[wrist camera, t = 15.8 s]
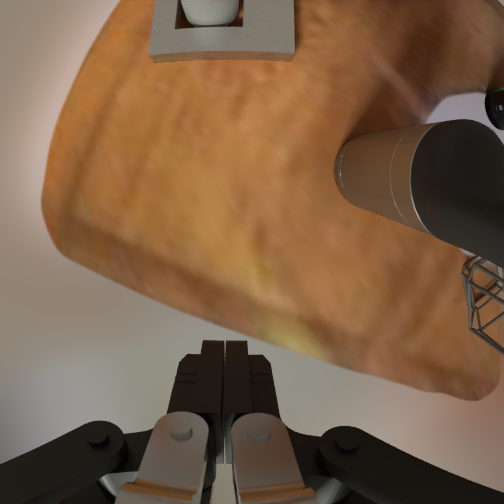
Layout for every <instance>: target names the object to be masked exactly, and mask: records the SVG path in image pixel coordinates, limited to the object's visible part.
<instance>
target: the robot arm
mask: <svg viewBox="0 0 504 504" xmlns="http://www.w3.org/2000/svg"><path fill="white" fill-rule="evenodd" d="M334 173H335V180H336V184H337V186H338V188H339V190H340V192H341V194H342V195H343V196H344V198H345V199H346V200H348V201H349V202H350V203H351V204H353V205H355V206H357V207H359V208H362V209H365V210H367V211H370V212H372V213H375V214H378V215H380V216H383V217H386V218H388V219H391V220H393V221H396V222H398V223H401V224H403V225H406V226H408V227H411V228H413V229H416V230H418V231H421V232H424V233H426V234H428V235H431V236H433V237H435V238H438V239H440V240H442V241H445V242H447V243H449V244H452V245H454V246H457V247H459V248H462V249H464V250H467V251H469V252H471V253H473V254H476V255H478V256H480V257H482V258H484V259H486V260H488V261H490V262H492V263H494V264H495V265H497V266H499V267H501V268H502V269H504V145H503V143H502V142H501V140H500V139H499V137H498V136H497V135H496V134H495V133H494V132H493V131H492V130H491V129H490V128H488V127H487V126H485V125H484V124H482V123H480V122H477V121H474V120H468V119H458V120H450V121H444V122H437V123H430V124H424V125H418V126H411V127H405V128H399V129H393V130H387V131H382V132H377V133H371V134H366V135H361V136H357V137H354V138H352V139H351V140H349V141H348V142H346V143H345V144H344V146H343V147H342V148H341V149H340V151H339V153H338V155H337V158H336V161H335V167H334ZM224 436H225V453H226V463H227V464H232V473H233V489H234V497H235V504H504V493H503V492H500V491H497V490H494V489H492V488H489V487H486V486H483V485H481V484H478V483H475V482H473V481H470V480H467V479H465V478H462V477H460V476H457V475H455V474H453V473H450V472H448V471H446V470H443V469H441V468H438V467H436V466H434V465H432V464H430V463H427V462H425V461H423V460H421V459H418V458H417V457H414V456H412V455H410V454H408V453H406V452H404V451H402V450H400V449H398V448H396V447H394V446H391V445H390V444H388V443H386V442H384V441H382V440H380V439H378V438H376V437H374V436H372V435H370V434H368V433H367V432H365V431H363V430H361V429H359V428H356V427H351V426H339V427H334V428H332V429H329V430H328V431H326V432H325V433H324V434H323V435H322V437H319V436H312V435H305V434H301V433H298V432H295V431H293V430H291V429H289V428H288V427H287V426H286V425H285V424H284V423H283V422H282V420H281V418H280V414H279V408H278V403H277V397H276V392H275V386H274V381H273V376H272V369H271V364H270V362H269V361H268V360H267V359H266V358H265V357H264V356H263V355H248V346H247V341H226V351H225V348H224V341H216V340H203V342H202V349H201V354H187V355H186V356H185V357H184V358H183V359H182V360H181V361H180V362H179V365H178V369H177V375H176V377H175V383H174V386H173V389H172V393H171V398H170V402H169V406H168V410H167V414H166V415H165V416H163V417H161V418H160V419H159V420H158V421H157V423H156V424H155V427H154V428H153V429H150V430H147V431H143V432H137V433H128V434H123V432H122V430H121V429H120V428H119V427H118V426H116V425H115V424H113V423H111V422H107V421H93V422H89V423H86V424H84V425H82V426H80V427H78V428H76V429H74V430H72V431H70V432H68V433H66V434H64V435H63V436H60V437H58V438H56V439H54V440H52V441H50V442H48V443H46V444H44V445H42V446H40V447H38V448H36V449H33V450H31V451H29V452H27V453H25V454H23V455H20V456H18V457H16V458H14V459H11V460H9V461H7V462H5V463H2V464H0V504H212V501H213V493H214V486H215V478H216V464H221V463H222V464H223V463H224Z"/></svg>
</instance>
